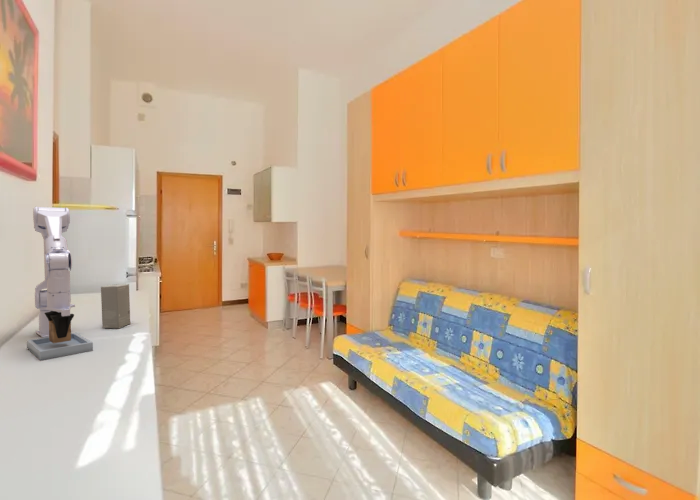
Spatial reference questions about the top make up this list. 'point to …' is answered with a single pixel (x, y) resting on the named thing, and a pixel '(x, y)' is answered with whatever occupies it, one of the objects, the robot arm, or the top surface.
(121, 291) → the skincare box
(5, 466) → the top surface
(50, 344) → the tray
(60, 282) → the robot arm
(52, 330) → the walnut block
